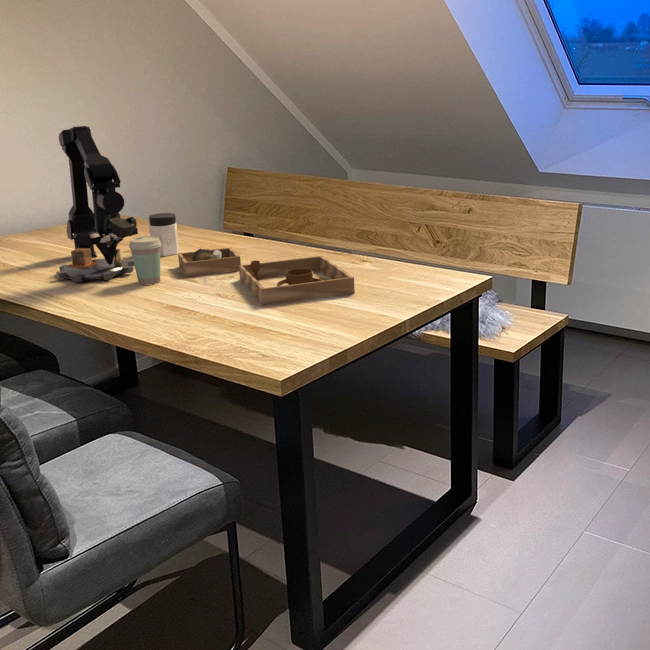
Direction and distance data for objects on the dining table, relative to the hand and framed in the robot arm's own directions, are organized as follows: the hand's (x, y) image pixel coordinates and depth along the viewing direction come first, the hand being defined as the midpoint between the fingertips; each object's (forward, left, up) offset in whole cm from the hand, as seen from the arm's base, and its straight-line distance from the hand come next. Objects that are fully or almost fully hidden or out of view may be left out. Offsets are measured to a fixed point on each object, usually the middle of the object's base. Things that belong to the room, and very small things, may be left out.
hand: (110, 264), depth 223 cm
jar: (-23, +18, -4) cm, 29 cm away
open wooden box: (+3, +27, -4) cm, 28 cm away
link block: (-10, -7, -1) cm, 12 cm away
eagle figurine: (+4, +26, -4) cm, 27 cm away
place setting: (+29, +45, -5) cm, 53 cm away
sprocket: (-6, -4, -4) cm, 8 cm away
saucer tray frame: (+32, +44, -4) cm, 55 cm away
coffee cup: (+10, +9, -4) cm, 14 cm away
